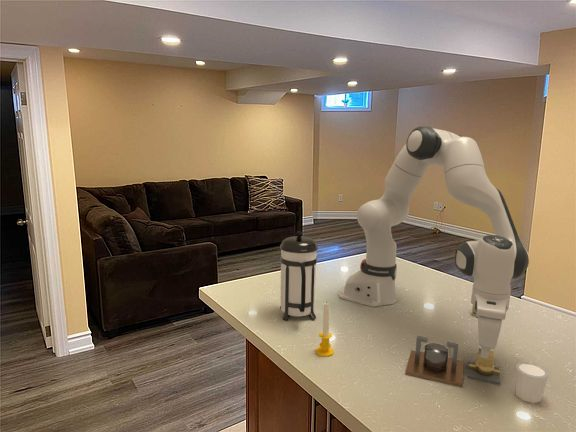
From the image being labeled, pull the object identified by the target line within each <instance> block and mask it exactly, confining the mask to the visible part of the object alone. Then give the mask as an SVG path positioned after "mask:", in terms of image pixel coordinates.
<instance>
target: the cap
mask: <svg viewBox="0 0 576 432" xmlns="http://www.w3.org/2000/svg"><path fill="white" fill-rule="evenodd" d="M494 360H495V351H494V350H492V349H490V351H489V356H488V358H482V357H481V347H479V348H478V354H477V358H476V360H475V363H476V365H472V364H469V369H471V370H475V371H476V372H477V373H478V374H480V375H483V376H492V375H498V376H500V377H501V369H499V370H495V369H494V367H495V363H494Z"/></svg>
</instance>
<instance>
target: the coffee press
mask: <svg viewBox="0 0 576 432" xmlns="http://www.w3.org/2000/svg"><path fill="white" fill-rule="evenodd" d="M295 235H296V236H289V237H286V238H285V239H282V241H281V243H280V245H279V249H280V258H279V259H280V306H279V309H280V311H282V313H284V314H283V316H282V321H285V322H288V321H289V320H290V318H291V317H305V316H307V317H309V319H310V320H311V321H314V320H316V319H317V316H316V314H315V309H316V284H317V283H316V282H317V281H316V280H317V263H318V257H317V252H318V249H319V245H317V243H316V241H315V240H314V239H312V238H311V237H308V236H303V232H302V231H301V230H297V231H296V233H295Z"/></svg>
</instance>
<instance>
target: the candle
mask: <svg viewBox="0 0 576 432" xmlns="http://www.w3.org/2000/svg"><path fill="white" fill-rule="evenodd" d="M322 312H323V316H322V331H321V332H320V333H319V334H318V337H320V338H321V339H320V340H321V342H320V343H319V347H317V348H315V353H316V354H317V356H320V357H324V358H326V357H327V358H329V357H331V356H333V355H334V353H335V350H334V349H333V347H331V346H332V345H331V343H330V339H331V338H332V337H333V333H331V332H329V331H330V330H329V328H330V327H329V326H330V303H328V302H327V301H326V302H325V303H323V311H322Z"/></svg>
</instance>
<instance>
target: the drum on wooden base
mask: <svg viewBox="0 0 576 432" xmlns="http://www.w3.org/2000/svg"><path fill="white" fill-rule="evenodd" d="M428 341H429V339H428V337H426V336H425V337H424V336H419V335H417V336H416V340H415V350H413V349H411V350H410V352H409V357H408V361H407V363H406V367H405V375H408V376H413V377H416V378H421V379H424V380H425V379H426V380H430V381H434V382H439V383H443V384H447V385H451V386H455V387H460V388H462V387H463V379H464V378H463V377H464V360H462V359H458V355H459V344H460V343H456V342H450V341H447V343H446V346H445V345H443V344H440V343H436V342H435V343H434V342H430V343H428ZM422 343H426V344H425V345H424V352H423V351H421V349H422ZM448 348H450V349H451V348H452V356H451V357H449V349H448Z"/></svg>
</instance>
